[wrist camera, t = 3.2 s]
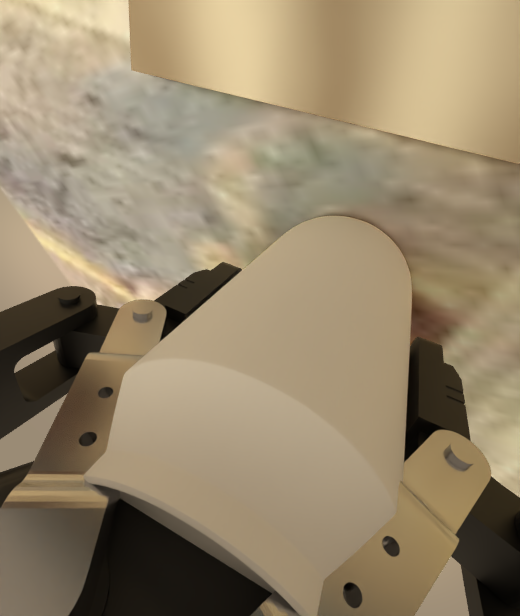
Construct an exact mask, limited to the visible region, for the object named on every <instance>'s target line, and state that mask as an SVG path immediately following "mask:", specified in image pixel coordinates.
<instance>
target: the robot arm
mask: <svg viewBox="0 0 520 616" xmlns="http://www.w3.org/2000/svg"><path fill="white" fill-rule="evenodd" d="M241 271H242V269H240V268H238V267H235V266H233V265H230V264H227V263H225V262H222V263H220V264H219V265H218V266H216V267H215V268H214V269H212V270H211V271H210V270H207V269H205V270H202V271H198V272H195V273H193V274H192V275H190V276H189V277H187V278H186V279H185V280H183V281H182V282H180V283H179V284H178V285H176V286H174V287H173V288H172V289H170V290H169V291H167V292H166V293H164V294H163V295H162V296H160V297H159V298H157V299H156V300H155V301H152V300H134V301H131V302H128V303H126V304H124V305H123V306H122V307H121V308H120V309H119V308H113V307H107V306H102V305H97V303H96V296H95V294H94V292H93V291H91V290H89V289H87V288H84V287H78V286H70V287H62V288H59V289H56V290H53V291H51V292H48V293H46V294H43V295H41V296H38V297H36V298H33V299H31V300H29V301H26V302H24V303H21V304H19V305H17V306H14V307H12V308H9V309H7V310H4V311H2V312H0V439H1V438H2V437H4V436H6V435H7V434H9V433H10V432H12V431H13V430H14V429H16V428H17V427H19V426H20V425H22V424H23V423H25V422H26V421H28V420H29V419H31V418H32V417H33V416H35V415H36V414H38V413H39V412H41V411H42V410H44V409H45V408H47V407H48V406H50V405H51V404H53V403H54V402H55V401H57V400H58V399H60V398H61V397H63V396H64V395H66V394H67V393H68V394H67V396H66V398H65V400H64V402H63V404H62V406H61V408H60V410H59V412H58V414H57V416H56V418H55V420H54V422H53V424H52V426H51V428H50V430H49V432H48V434H47V436H46V438H45V440H44V442H43V444H42V446H41V448H40V450H39V452H38V454H37V456H36V458H35V461H33V462H30V463H27V464H24V465H21V466H18V467H15V468H12V469H9V470H6V471H3V472H0V616H300V615H299V614H298V613H297V612H296V611H295V610H294V609H293V608H292V606H291V605H290V604H289V603H288V602H287V601H286V600H285V599H284V598H283V597H282V596H281V595H280V594H279V593H278V592H276V591H275V592H274V593H273V594H272V593H271V592H269V591H268V590H266V589H264V588H263V587H261V586H260V585H258V584H256V583H255V582H253V581H252V580H250V579H248V578H247V577H245V576H244V575H242V574H240V573H239V572H237V571H236V570H234V569H232V568H231V567H229V566H228V565H226V564H224V563H223V562H221V561H220V560H218V559H216V558H215V557H213V556H212V555H210V554H208V553H207V552H205V551H204V550H202V549H200V548H199V547H197V546H196V545H194V544H192V543H191V542H189V541H188V540H186V539H184V538H183V537H181V536H180V535H178V534H176V533H175V532H173V531H172V530H170V529H168V528H167V527H165V526H164V525H162V524H160V523H159V522H157V521H156V520H154V519H152V518H151V517H149V516H148V515H146V514H144V513H143V512H141V511H140V510H138V509H136V508H135V507H133V506H132V505H130V504H128V503H127V502H125V501H124V500H122V499H120V491H119V490H116V489H113V488H109V487H106V486H101V485H96V484H90V483H88V482H87V481H86V480H85V479H84V477H83V475H84V474H85V473H86V472H87V471H88V470H89V469H90V468H91V467H92V466H93V465H94V464H95V463H96V461H97V460H98V459H99V458H100V457H101V456H102V455H103V454H104V453H105V452H106V450H107V445H108V440H109V435H110V430H111V426H112V421H113V417H114V412H115V408H116V404H117V399H118V396H119V392H120V388H121V384H122V380H123V376H124V374H125V372H126V371H128V370H129V369H130V368H131V367H132V366H133V365H134V364H135V363H136V362H138V361H139V360H140V359H141V358H142V357H143V356H144V355H146V354H147V353H148V352H149V351H150V350H151V349H152V348H154V347H155V346H156V345H157V344H158V343H159V342H160V341H162V340H163V339H164V338H165V337H166V336H167V335H168V334H170V333H171V332H172V331H173V330H174V329H175V328H176V327H178V326H179V325H180V324H181V323H182V322H183V321H184V320H186V319H187V318H188V317H189V316H190V315H191V314H192V313H194V312H195V311H196V310H197V309H198V308H199V307H200V306H202V305H203V304H204V303H205V302H206V301H207V300H208V299H210V298H211V297H212V296H213V295H214V294H215V293H217V292H218V291H219V290H220V289H221V288H222V287H223V286H225V285H226V284H227V283H228V282H229V281H230V280H231V279H233V278H234V277H235V276H236V275H237V274H238V273H239V272H241ZM52 341H53V342H54V346H55V351H53V352H52V353H50V354H48V355H46V356H45V357H43V358H41V359H39V360H37V361H36V362H34V363H32V364H30V365H28V366H27V367H25V368H23V369H21V370H19V371H18V372H16V373H14V368H15V365H16V364H17V362H18V361H19V360H20V359H21V358H23V357H24V356H26V355H28V354H30V353H31V352H33V351H35V350H37V349H39V348H41V347H43V346H44V345H46V344H48V343H50V342H52ZM464 403H465V400H464V395H463V387H462V380H461V378H460V377H459V375H458V373H457V372H456V370H455V369H454V367H453V366H451V365H448V364H446V363H444V361H443V349H442V346H441V345H439V344H436V343H434V342H431V341H428V340H426V339H423V338H421V337H417V338H416V339H415V340H414V341H413V343H412V344H411V346H410V352H409V373H408V393H407V412H406V432H405V452H404V471H403V482H402V481H400V483H399V488H398V501H397V512H396V514H395V515H394V516H393V517H392V518H391V519H390V520H389V521H388V522H387V523H386V524H385V525H384V526H383V527H382V528H381V529H380V530H379V531H378V532H377V533H376V534H375V535H374V536H373V537H372V538H370V539H369V540H368V541H367V542H366V543H365V544H364V545H363V546H362V547H361V548H360V549H359V550H357V551H356V552H355V553H354V554H353V555H352V556H351V557H350V558H349V559H347V560H346V561H345V562H344V563H343V564H342V565H341V566H339V567H338V568H337V569H336V570H335V571H334V572H332V573H331V574H330V575H329V576H328V577H327V578H325V579H324V582H323V587H322V592H321V597H320V602H319V607H318V613H317V616H414V615H415V613H416V612H417V611H418V609H419V607H420V606H421V604H422V602H423V601H424V599H425V598H426V596H427V594H428V593H429V591H430V589H431V588H432V586H433V584H434V583H435V581H436V580H437V578H438V576H439V574H440V573H441V571H442V570H443V568H444V567H445V565H446V563H447V562H448V560H449V558H450V557H451V556H452V557H453V558H454V559H455V560H456V561H457V562H459V563H460V564H461V569H462V574H463V581H464V586H465V592H466V598H467V604H468V610H469V616H520V498H519V497H518V496H516V495H515V494H514V493H512V492H511V491H510V490H508V489H507V488H505V487H504V486H503V485H501V484H500V483H499V482H497V481H496V480H495V479H494V478H493V477H492V476H491V469H490V466H489V463H488V461H487V459H486V458H485V456H484V455H483V453H482V452H481V451H480V450H479V449H478V448H477V447H476V446H475V445H474V444H473V443H472V442H471V440H470V434H469V427H468V420H467V414H466V407H465V405H464ZM382 542H383V544H384V548H383V544H382ZM343 590H344V591H345V594H346V600H347V602H348V604H347V603H346V601H345V599H344V596H343Z"/></svg>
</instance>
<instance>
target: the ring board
mask: <svg viewBox="0 0 520 616" xmlns="http://www.w3.org/2000/svg"><path fill="white" fill-rule="evenodd" d="M129 22H130V47H131V70H133V71H137V72H141V73H145V74H149V75H153V76H157V77H162V78H166V79H170V80H174V81H178V82H182V83H186V84H190V85H195V86H199V87H203V88H207V89H211V90H215V91H219V92H223V93H228V94H232V95H236V96H240V97H244V98H248V99H252V100H256V101H261V102H265V103H269V104H273V105H277V106H281V107H285V108H290V109H294V110H298V111H302V112H306V113H310V114H314V115H318V116H323V117H327V118H331V119H335V120H339V121H343V122H347V123H351V124H356V125H360V126H364V127H368V128H372V129H376V130H380V131H384V132H389V133H393V134H397V135H401V136H405V137H409V138H413V139H417V140H422V141H426V142H430V143H434V144H438V145H442V146H446V147H451V148H455V149H459V150H463V151H467V152H471V153H475V154H479V155H484V156H488V157H492V158H496V159H500V160H504V161H508V162H512V163H517V164H520V0H129Z"/></svg>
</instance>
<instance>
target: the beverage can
mask: <svg viewBox="0 0 520 616" xmlns="http://www.w3.org/2000/svg"><path fill="white" fill-rule="evenodd" d="M411 310H412V282H411V275H410V271H409V268H408V265H407V262H406V260H405V258H404V256H403V254H402V252H401V251H400V249H399V248H398V247H397V245H396V244H395V243H394V242H393V241H392V240H391V239H390V238H389V237H388V236H387V235H386V234H385V233H384V232H382V231H381V230H379V229H378V228H376V227H375V226H373V225H371V224H369V223H367V222H364V221H362V220H359V219H355V218H351V217H346V216H322V217H317V218H313V219H310V220H307V221H305V222H302V223H300V224H298V225H296V226H295V227H293V228H292V229H290V230H289V231H287V232H286V233H285V234H284V235H282V236H281V237H280V238H279V239H278V240H276V241H275V242H274V243H273V244H272V245H271V246H269V247H268V248H267V249H266V250H265V251H264V252H262V253H261V254H260V255H259V256H258V257H257V258H256V259H254V260H253V261H252V262H251V263H250V264H249V265H247V266H246V267H245V268H244V269H243V270H242V271H241V272H239V273H238V274H237V275H236V276H235V277H234V278H233V279H231V280H230V281H229V282H228V283H227V284H226V285H225V286H223V287H222V288H221V289H220V290H219V291H218V292H217V293H215V294H214V295H213V296H212V297H211V298H210V299H208V300H207V301H206V302H205V303H204V304H203V305H202V306H200V307H199V308H198V309H197V310H196V311H195V312H194V313H192V314H191V315H190V316H189V317H188V318H187V319H186V320H184V321H183V322H182V323H181V324H180V325H179V326H178V327H176V328H175V329H174V330H173V331H172V332H171V333H170V334H168V335H167V336H166V337H165V338H164V339H163V340H162V341H160V342H159V343H158V344H157V345H156V346H155V347H154V348H152V349H151V350H150V351H149V352H148V353H147V354H146V355H144V356H143V357H142V358H141V359H140V360H139V361H138V362H136V363H135V364H134V365H133V366H132V367H131V368H130V369H129V370H128V371H126V372H125V374H124V376H123V380H122V384H121V388H120V392H119V396H118V399H117V404H116V408H115V412H114V417H113V421H112V426H111V430H110V435H109V440H108V445H107V450H106V452H105V453H104V454H103V455H102V456H101V457H100V458H99V459H98V460H97V461H96V463H95V464H94V465H93V466H92V467H91V468H90V469H89V470H88V471H87V472H86V473H85V474H84V475H83V477H84V479H85V480H86V481H87V482H88V483H90V484H96V485H101V486H106V487H109V488H113V489H116V490H119V491H120V499H122V500H124V501H125V502H127V503H128V504H130V505H132V506H133V507H135V508H136V509H138V510H140V511H141V512H143V513H144V514H146V515H148V516H149V517H151V518H152V519H154V520H156V521H157V522H159V523H160V524H162V525H164V526H165V527H167V528H168V529H170V530H172V531H173V532H175V533H176V534H178V535H180V536H181V537H183V538H184V539H186V540H188V541H189V542H191V543H192V544H194V545H196V546H197V547H199V548H200V549H202V550H204V551H205V552H207V553H208V554H210V555H212V556H213V557H215V558H216V559H218V560H220V561H221V562H223V563H224V564H226V565H228V566H229V567H231V568H232V569H234V570H236V571H237V572H239V573H240V574H242V575H244V576H245V577H247V578H248V579H250V580H252V581H253V582H255V583H256V584H258V585H260V586H261V587H263V588H264V589H266V590H268V591H269V592H271V593H272V594H273V593H274V592H275V591H276V592H278V593H279V594H280V595H281V596H282V597H283V598H284V599H285V600H286V601H287V602H288V603H289V604H290V605H291V606H292V608H293V609H294V610H295V611H296V612H297V613H298V614H299V615H300V616H317V613H318V607H319V602H320V597H321V592H322V587H323V582H324V579H325V578H327V577H328V576H329V575H330V574H331V573H332V572H334V571H335V570H336V569H337V568H338V567H339V566H341V565H342V564H343V563H344V562H345V561H346V560H347V559H349V558H350V557H351V556H352V555H353V554H354V553H355V552H356V551H357V550H359V549H360V548H361V547H362V546H363V545H364V544H365V543H366V542H367V541H368V540H369V539H370V538H372V537H373V536H374V535H375V534H376V533H377V532H378V531H379V530H380V529H381V528H382V527H383V526H384V525H385V524H386V523H387V522H388V521H389V520H390V519H391V518H392V517H393V516H394V515H395V514H396V512H397V501H398V488H399V483H400V481H402V482H403V471H404V452H405V432H406V412H407V393H408V373H409V352H410V332H411ZM382 544H383V542H382ZM383 548H384V544H383ZM343 596H344V599H345V601H346V603H347V604H348V602H347V600H346V594H345V591H344V590H343Z"/></svg>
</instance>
